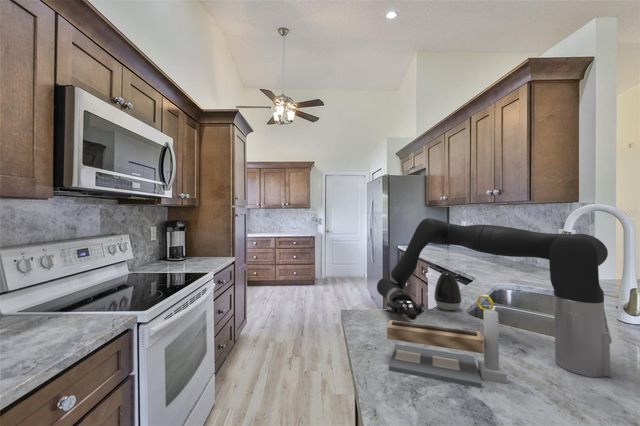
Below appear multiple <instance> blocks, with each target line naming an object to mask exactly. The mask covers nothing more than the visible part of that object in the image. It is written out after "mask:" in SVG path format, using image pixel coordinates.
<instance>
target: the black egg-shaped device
mask: <svg viewBox="0 0 640 426" xmlns="http://www.w3.org/2000/svg"><path fill="white" fill-rule="evenodd" d="M460 277H462V274H461V273H458V274H453V273H452V272H450V271H443V272H442V273H441V274H440V276H439V277H438V279H437V281H436V285H435V288H434V295H433V297H434V298H433V299H434V300H435V304H436V306H437V307H439V309H441V308H442V309H441V310H443V309H446V310H445V311H448V310H453V311H456V310H457V309H459V308H460V305H461V303H462V293H461V289H460V286H459V283H458V281H457V279H459V278H460Z"/></svg>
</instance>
